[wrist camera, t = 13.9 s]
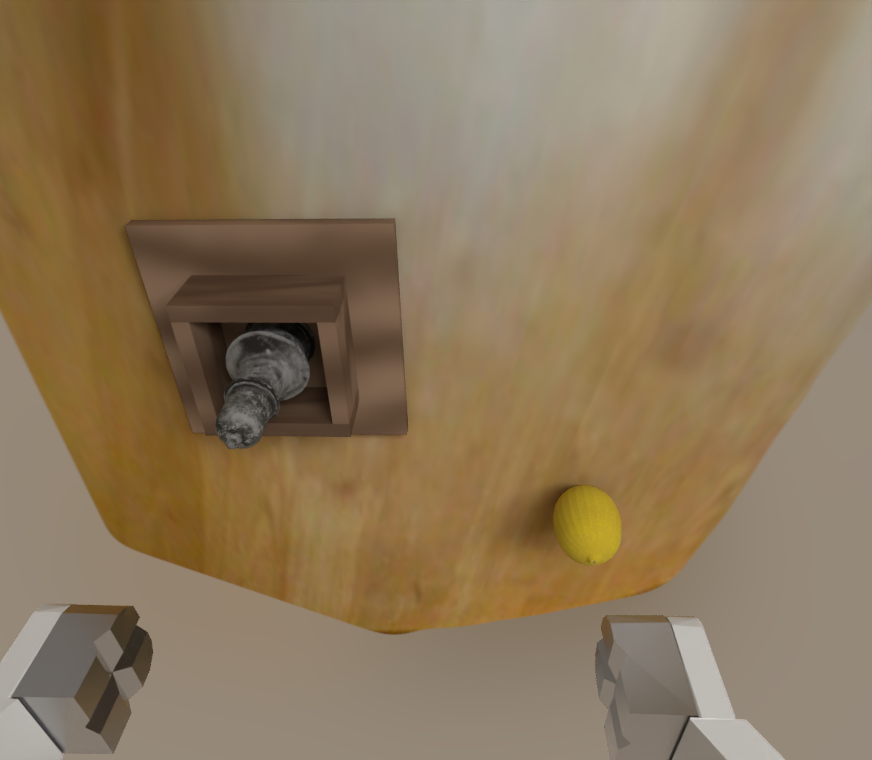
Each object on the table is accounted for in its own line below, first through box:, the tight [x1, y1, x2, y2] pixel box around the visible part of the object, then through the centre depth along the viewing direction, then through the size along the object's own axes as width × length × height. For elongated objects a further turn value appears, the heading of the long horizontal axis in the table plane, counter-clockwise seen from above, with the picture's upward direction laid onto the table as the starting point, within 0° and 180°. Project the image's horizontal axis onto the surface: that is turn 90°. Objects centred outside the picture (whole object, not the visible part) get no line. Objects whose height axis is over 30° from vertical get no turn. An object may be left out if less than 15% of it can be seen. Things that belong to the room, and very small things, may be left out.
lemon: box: [553, 485, 622, 565], centre depth 51 cm, size 6×6×8 cm
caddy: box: [125, 219, 408, 437], centre depth 44 cm, size 18×18×6 cm
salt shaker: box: [215, 323, 316, 449], centre depth 41 cm, size 6×6×12 cm
